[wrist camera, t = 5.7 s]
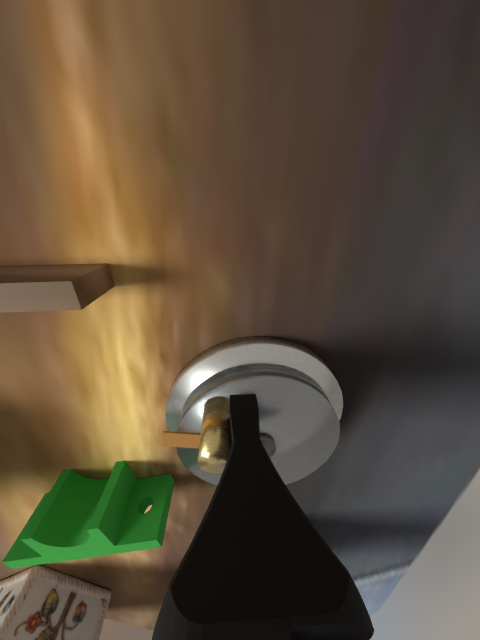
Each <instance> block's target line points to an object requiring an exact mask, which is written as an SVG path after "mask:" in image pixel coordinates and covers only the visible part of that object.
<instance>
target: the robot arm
mask: <svg viewBox="0 0 480 640" xmlns="http://www.w3.org/2000/svg"><path fill="white" fill-rule="evenodd" d="M230 426H231V441H232V446H231V449H230V453H229V456H228V459H227V462H226V465H225V467H224V470H223V473H222V475H221V478H220V481H219V483H218V486H217V488H216V490H215V493H214V495H213V498H212V500H211V502H210V504H209V507H208V509H207V511H206V513H205V515H204V517H203V520H202V522H201V524H200V526H199V528H198V530H197V532H196V534H195V536H194V538H193V540H192V542H191V544H190V546H189V548H188V550H187V552H186V554H185V556H184V558H183V559H182V561H181V563H180V565H179V567H178V569H177V571H176V573H175V575H174V576H173V578H172V580H171V582H170V585H169V588H168V591H167V593H166V596H165V599H164V601H163V604H162V607H161V610H160V613H159V616H158V619H157V622H156V625H155V629H154V633H153V637H152V640H369V639H370V638H371V637H372V635H373V632H374V629H373V626H372V623H371V619H370V617H369V614H368V611H367V609H366V607H365V604H364V602H363V600H362V598H361V595H360V593H359V591H358V589H357V587H356V585H355V583H354V581H353V579H352V577H351V575H350V574H349V572H348V570H347V569H346V568H345V567H344V565H343V564H342V563H341V562H340V560H339V559H338V558H337V557H336V555H335V554H334V553H333V552H332V550H331V549H330V548H329V546H328V545H327V544H326V542H325V541H324V540H323V539H322V537H321V536H320V534H319V533H318V532H317V530H316V529H315V528H314V526H313V525H312V524H311V522H310V521H309V519H308V518H307V517H306V515H305V514H304V512H303V511H302V509H301V508H300V506H299V505H298V503H297V502H296V500H295V499H294V498H293V496H292V495H291V493H290V491H289V490H288V488H287V487H286V485H285V483H284V482H283V480H282V479H281V477H280V475H279V474H278V472H277V470H276V468H275V467H274V465H273V463H272V461H271V459H270V458H269V456H268V454H267V452H266V450H265V448H264V446H263V444H262V442H261V440H260V429H259V408H258V402H257V397H256V394H239V395H230Z"/></svg>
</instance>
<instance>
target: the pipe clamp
mask: <svg viewBox="0 0 480 640" xmlns="http://www.w3.org/2000/svg"><path fill="white" fill-rule="evenodd" d="M173 486H174V479H173V478H172V476H171V474H166V475H160V476H154V477H147V478H141V479H136V477H135V476H134V474H133V472H132V471H131V469H130V468H129V466H128V465H127V463H126V462H125V461H121V462H116V464H115V466H114V468H113V471H112V473H111V475H110V477H109V478H105V479H90V478H86V477H83V476H81V475H79V474H77V473H76V472H74V471H73V470H72V469H70V470H64V471H63V472H62V473H61V475H60V477H59V478H58V480H57V481H56V483H55V485H54V486H53V488H52V489H51V491H50V493H45V495H44V497H43V498H42V500H41V501H40V503H39V505H38V506H37V508H36V509H35V511H34V512H33V514H32V516H31V517H30V519H29V520H28V522H27V524H26V525H25V527H24V528H23V530H22V531H21V533H20V535H19V536H18V538H17V539H16V541H15V543H14V544H13V546H12V547H11V549H10V550H9V552H8V554H7V555H6V557H5V558H4V560H3V562H2V563H4V564H5V565H7V566H8V567H10V568H19V567H26V566H33V565H40V564H47V563H54V562H61V561H68V560H75V559H82V558H89V557H96V556H103V555H110V554H117V553H124V552H130V551H137V550H144V549H151V548H158V547H162V543H163V538H164V533H165V527H166V522H167V517H168V512H169V507H170V501H171V496H172V491H173ZM152 504H153V505H152ZM150 505H152V507H151V509H150V510H149V511H148V512H147V513H145V514H144V512H145V510H146V508H147V507H148V506H150Z"/></svg>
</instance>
